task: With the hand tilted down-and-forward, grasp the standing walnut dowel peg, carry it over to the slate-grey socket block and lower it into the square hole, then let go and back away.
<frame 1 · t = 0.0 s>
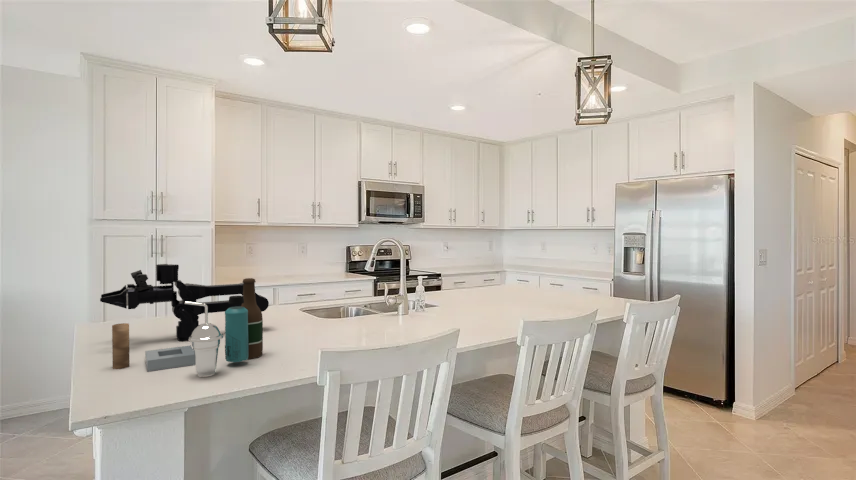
hand: (100, 297, 150), 17 cm above the countertop, tool horizontal, fingers open, 9 cm apart
beer bottle: (249, 356, 143), on the countertop
beverage bottle: (236, 365, 134), on the countertop
socket: (170, 362, 135), on the countertop
cup with straw: (205, 374, 125), on the countertop
peg: (121, 366, 131), on the countertop
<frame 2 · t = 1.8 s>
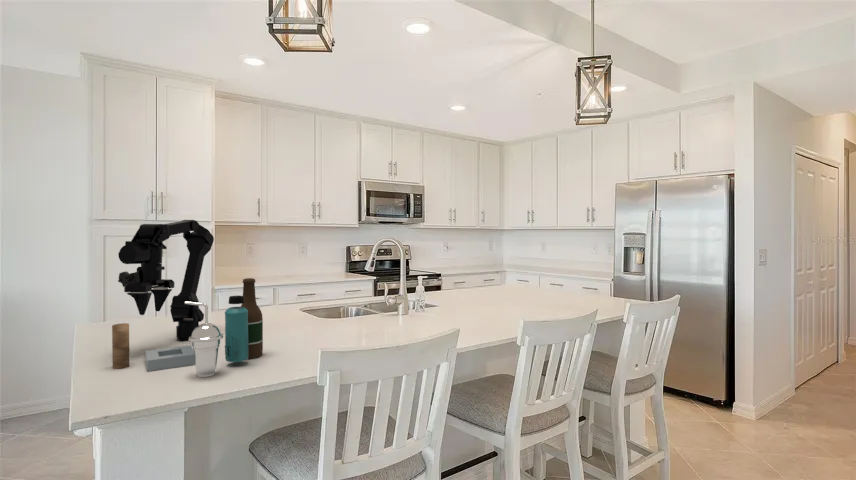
hand: (150, 313, 145), 13 cm above the countertop, tool pointing down, fingers open, 9 cm apart
nothing on the countertop moved.
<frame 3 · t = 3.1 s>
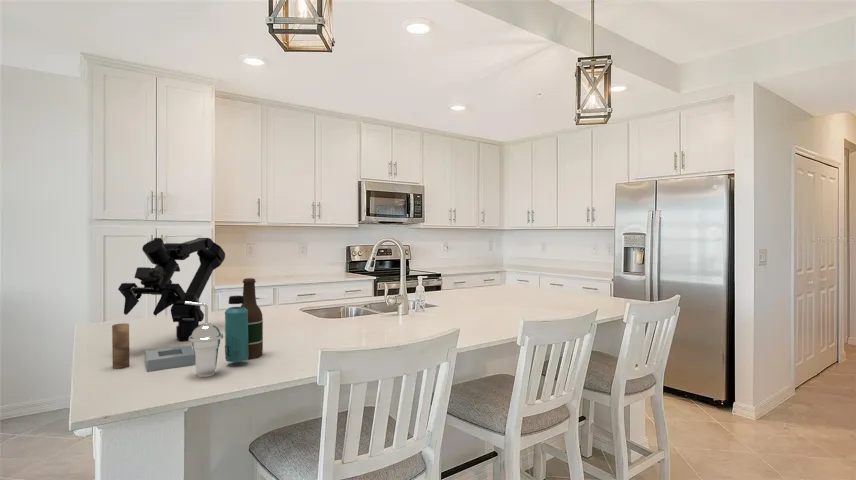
hand: (139, 314, 139), 13 cm above the countertop, tool tilted 45°, fingers open, 9 cm apart
nothing on the countertop moved.
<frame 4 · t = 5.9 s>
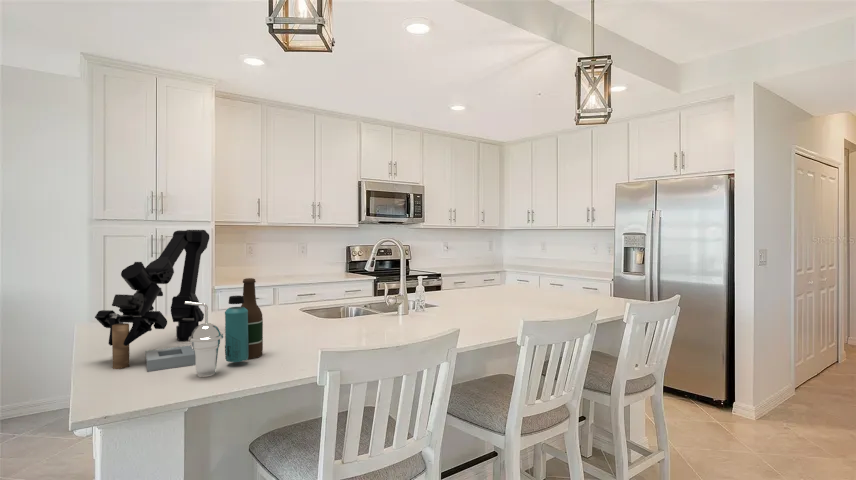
hand: (117, 345, 129), 7 cm above the countertop, tool tilted 45°, fingers closed on peg, 4 cm apart
peg: (121, 366, 131), on the countertop, touching gripper
everything else where it was.
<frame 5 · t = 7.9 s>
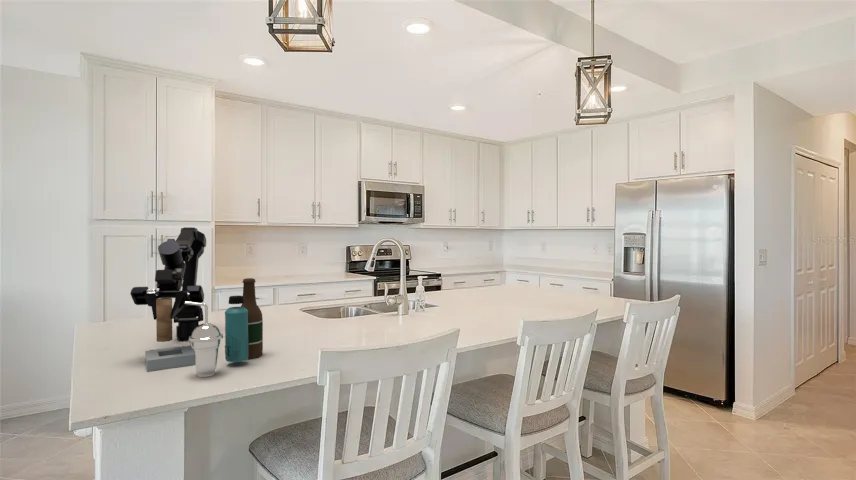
hand: (163, 318, 133), 13 cm above the countertop, tool tilted 45°, fingers closed on peg, 4 cm apart
peg: (164, 340, 134), point 7 cm above the countertop, touching gripper
everything else where it was.
when the fingers open (8 cm above the countertop, at t = 9.7 s): peg drops 1 cm, resting in socket.
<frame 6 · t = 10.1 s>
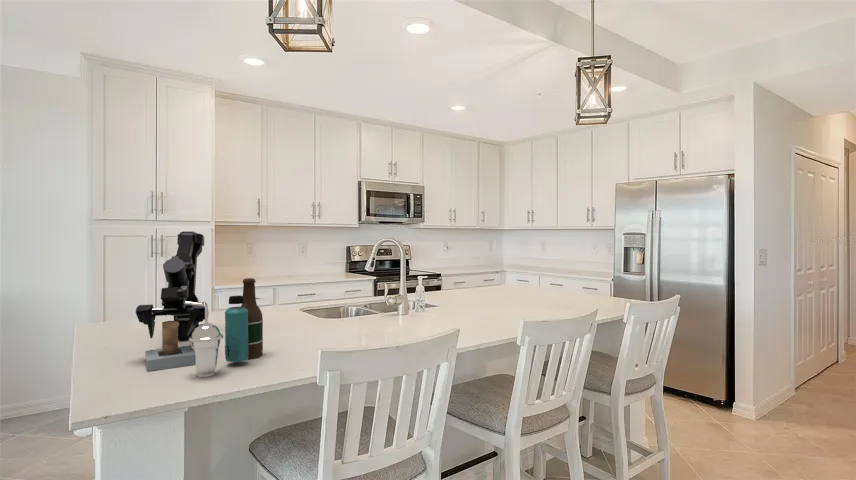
hand: (169, 336, 134), 8 cm above the countertop, tool tilted 45°, fingers open, 9 cm apart
peg: (170, 362, 135), resting in socket
everything else where it was.
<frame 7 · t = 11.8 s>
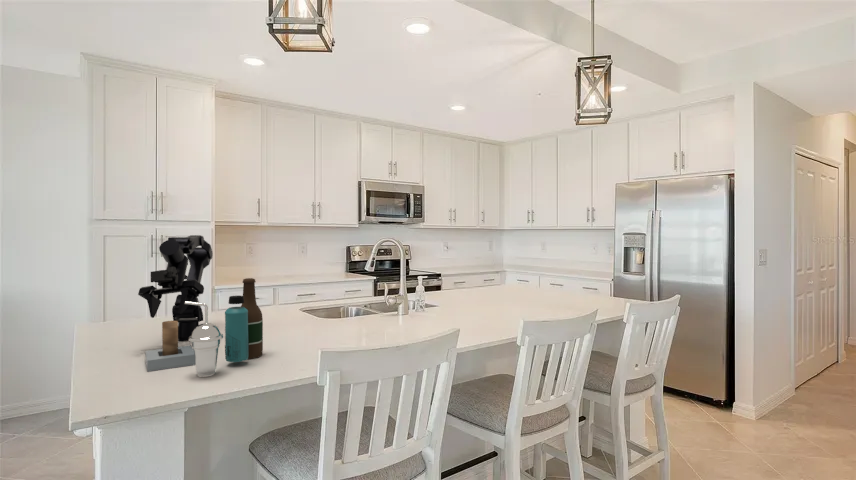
hand: (166, 315, 143), 12 cm above the countertop, tool tilted 35°, fingers open, 9 cm apart
nothing on the countertop moved.
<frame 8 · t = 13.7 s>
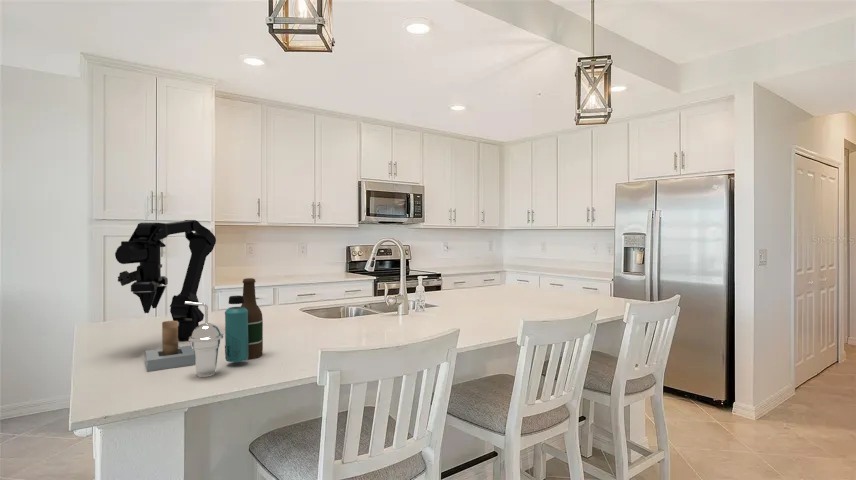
hand: (150, 310, 147), 13 cm above the countertop, tool pointing down, fingers open, 9 cm apart
nothing on the countertop moved.
at the end: peg 0.0 cm off-centre on the socket, point 0.0 cm above the socket's base; peg tilted 0°; the gripper is holding nothing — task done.
